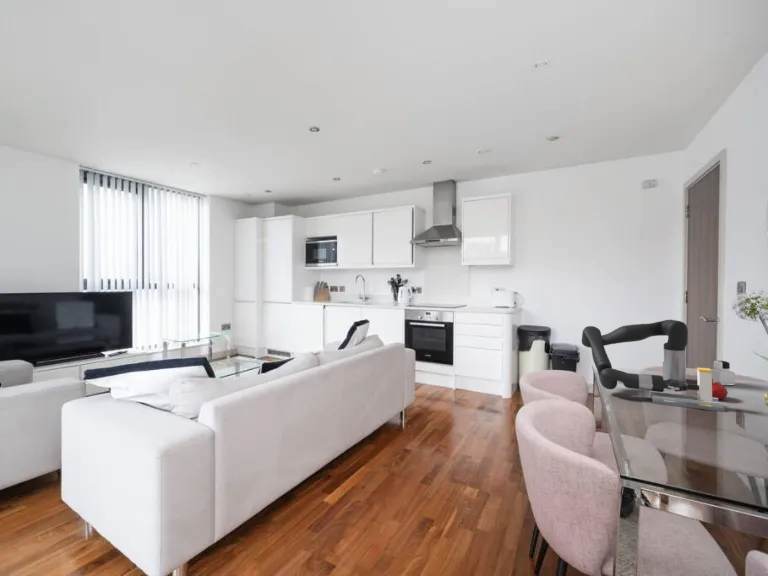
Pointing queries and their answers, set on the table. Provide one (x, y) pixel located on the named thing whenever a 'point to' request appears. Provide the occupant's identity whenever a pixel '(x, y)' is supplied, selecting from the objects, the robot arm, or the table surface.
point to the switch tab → (704, 384)
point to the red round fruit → (718, 391)
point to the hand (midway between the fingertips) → (698, 387)
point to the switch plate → (685, 401)
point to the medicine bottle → (723, 373)
